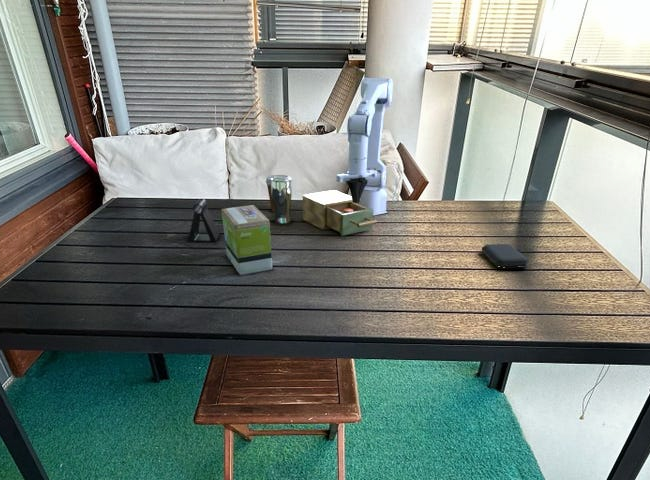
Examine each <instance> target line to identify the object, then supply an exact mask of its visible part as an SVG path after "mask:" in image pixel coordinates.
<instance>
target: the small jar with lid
mask: <svg viewBox="0 0 650 480" xmlns="http://www.w3.org/2000/svg"><path fill="white" fill-rule="evenodd" d="M350 212H354V211H353V209H349V208H347V209H344V211H342V214H345V213H350Z"/></svg>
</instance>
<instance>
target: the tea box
mask: <svg viewBox="0 0 650 480" xmlns="http://www.w3.org/2000/svg"><path fill="white" fill-rule="evenodd" d="M221 219H222V226H223V233H224V234H223V235H224V242H225V251H226V256H227V258H228V259H229V261H230V263H231V264H232V265H233V267H234V269H236V271H237V273H238V274H239V275H240V276H243V275H249V274H255V273H261V272H267V271H271V270H273V256H272V239H271V224H270V219H268V218H267V216H266V215H265V214H264V213H262V211H260V210H259V209H258V208H257V207H256V206H255V205H254V204H249V205H242V206H241V205H240V206H235V207H227V208H221Z"/></svg>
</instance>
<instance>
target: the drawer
mask: <svg viewBox="0 0 650 480" xmlns="http://www.w3.org/2000/svg"><path fill="white" fill-rule="evenodd" d="M347 208H349V209H353V211H354V212H350V213H345V214H342V211H344V209H347ZM373 210H374V209H372V208H370V209H367V208H366V207H363V206H361V205H360V204H359V203H353V202H348V203H342V204H337V205H331V206H326V207H325V225H326V226H328V227H330V229H332V230H334V231H336V232H338V233H340V236H342V237H343V236H348V235H353V234H358V233H361V232H365V231H370V230H373V225H377V220H376V219H374V216H373Z"/></svg>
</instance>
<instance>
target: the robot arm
mask: <svg viewBox="0 0 650 480" xmlns="http://www.w3.org/2000/svg"><path fill="white" fill-rule="evenodd" d="M393 89H394V82H393V79H392V78H391V77H389V78H381V77H380V78H379V77H375V78H374V77H364V78H362V80H361V83H360V96H361V99H362V100H359V102H358V103H357V105H356V107H355V110H354V112H353V114H351V116H350V115H349V116H348V118H347V122H346V124H347V125H346V131H347V132H346V133H347V142H348V164H347V167H348V168H347V171H345V172H343V173H340V174H336V176H335V177H336V179H335V180H336V182H338V183H343V182H346V184H347V186H348V189H349V192H350V196H351V197H352V202H354V203H356V204H359V205H361V206H363V207H366V208H367V209H370V208H372V209H374V210H373V217H374V216H378V215H383V214H387V213H388V211H387V203H388V202H387V200H388V193H387V190H386V188H385V186H386V182H387V166H386V164H384V162H382V161H381V159H380V158H381V147H382V137H383V129H384V128H383V125H384V117H385V113H386V109H388V108H389V107H391V104H392V100H393V91H394V90H393Z"/></svg>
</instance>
